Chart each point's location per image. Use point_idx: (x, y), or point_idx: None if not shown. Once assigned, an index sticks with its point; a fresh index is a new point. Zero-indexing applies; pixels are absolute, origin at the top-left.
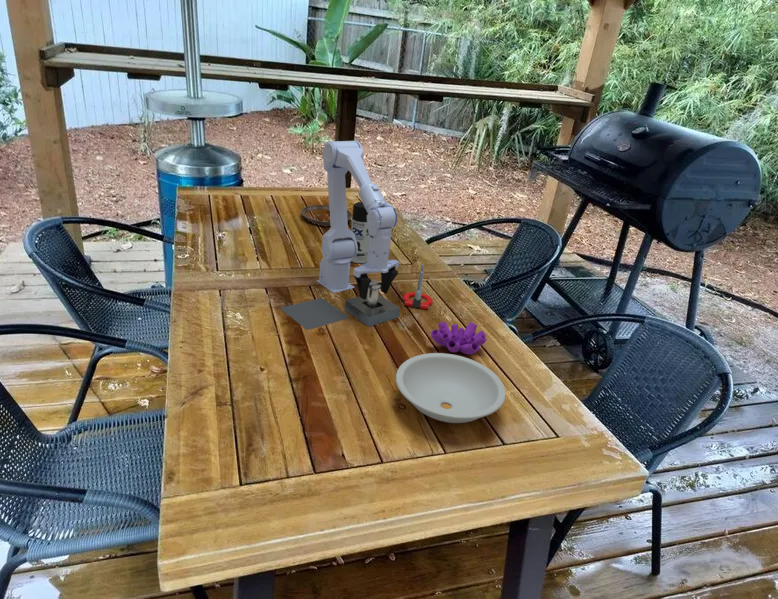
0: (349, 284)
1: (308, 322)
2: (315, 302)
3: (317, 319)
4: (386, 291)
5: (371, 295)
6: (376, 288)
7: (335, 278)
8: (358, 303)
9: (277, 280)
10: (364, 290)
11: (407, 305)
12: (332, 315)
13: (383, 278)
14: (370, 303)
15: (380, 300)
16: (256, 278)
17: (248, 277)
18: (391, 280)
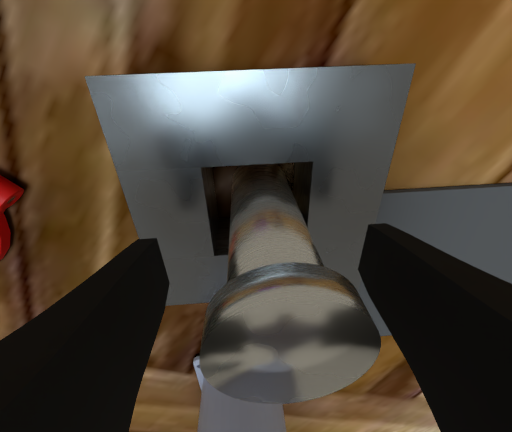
0: (200, 374)
1: None
2: (383, 323)
3: (488, 233)
4: (142, 249)
5: (313, 242)
6: (320, 275)
7: (273, 411)
8: (329, 246)
9: (360, 414)
10: (498, 278)
11: (2, 177)
12: (416, 237)
13: (115, 411)
14: (297, 205)
15: (184, 231)
16: (391, 424)
17: (401, 428)
18: (4, 363)
